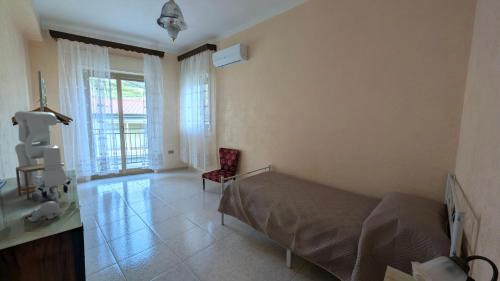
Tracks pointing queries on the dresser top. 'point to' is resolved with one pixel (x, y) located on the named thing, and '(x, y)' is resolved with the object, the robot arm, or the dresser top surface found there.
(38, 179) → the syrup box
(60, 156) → the robot arm
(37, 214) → the round bodied animal figurine
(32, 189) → the pit trap
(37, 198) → the gray frame with handle
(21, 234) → the dresser top surface
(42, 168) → the wooden stool
